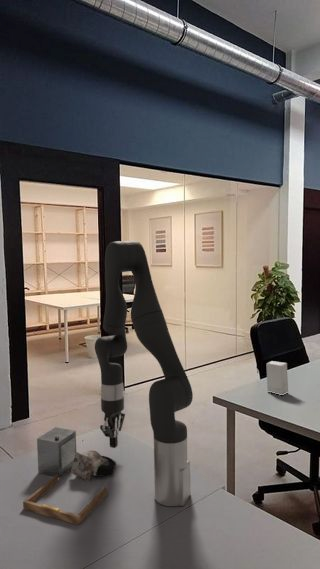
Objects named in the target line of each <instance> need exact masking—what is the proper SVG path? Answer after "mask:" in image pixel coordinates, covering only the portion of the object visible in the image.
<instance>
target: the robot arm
mask: <svg viewBox="0 0 320 569" xmlns="http://www.w3.org/2000/svg"><path fill="white" fill-rule="evenodd" d="M104 255H105V256H104V280H105V281H104V283H105V309H104V314H103V324H102V328H103V330H104V332H106V333H108V334H111V335H107V336H100V337H98V338H97V339H96V340H95V343H94V351H95V355H96V358H97V361H98V365H99V369H100V381H101V382H100V405H101V406H100V409H101V411H102V412H103V413H104V418H103V421H104V423H103V425H102V424H100V426H99V429H100V431H102V433H103V435H104V436H105V437H107V438H109V447H110V448H112V449H116V448H117V447H118V444H119V443H118V442H119V441H118V438H119V437H118V436H119V433H120V432H121V431H122V428H123V424H124V422H125V417H126V414H125V413H123V412H122V411H124V409H125V396H124V395H125V393H124V392H125V390H124V389H125V388H124V382H123V379H124V378H123V376H124V375H123V367H122V365H121V364H120V363H117V362H110V361H109V358H110V359H111V358H118V357H121V356H124V355H125V354H126V352H127V350H128V342H127V341H128V340H127V336H126V322H127V317H128V305H127V301H126V298H125V297H124V294H123V292H122V290H121V287H120V277H121V273H125V272H131V274H132V277H133V280H134V287H135V291H134V295H133V299H132V302H131V308H130V320H131V323H132V326H133V329H134V333H135V335H136V338H137V339H138V341H139V342H140V344H141V345H142V346H143V347H144V348H145V349H146V350H147V351H148V352H149V353H150V354H151V355H152V356H153V357H154V358H155V359H156V361H157V362H158V365H159V366H160V368H161V371H162V373H163V376H164V378H163V379H159V380H156V381H154V382H153V383H151V385H150V388H149V390H148V392H149V393H148V405H149V416H150V425H151V429H152V433H153V466H154V467H153V473H154V474H153V475H154V482H153V483H154V498H155V500H156V502H157V503H158V504H160V505H162V506H165V507H178V506H180V507H184V506H185V504H186V502H187V501H188V499H189V497H190V495H191V461H190V460H188V428H187V425H186V424H185V423H184V422H182V421H179V420H177V419H176V415H175V413H176V412H177V413H178V412H179V411H182V410H183V409H186V408H188V407H189V406H191V404H192V401H193V397H194V396H193V393H194V392H193V388H192V386H191V383H190V380H189V378H188V375H187V373H186V371H185V368H184V367H183V365H182V362H181V360H180V357H179V355H178V353H177V350H176V347H175V345H174V342H173V340H172V337H171V334H170V332H169V328H168V324H167V320H166V319H165V316H164V313H163V309H162V307H161V305H160V302H159V299H158V296H157V292H156V289H155V286H154V284H153V279H152V274H151V271H150V266H149V263H148V258H147V255H146V251H145V249H144V246H143V245H142V244H141V242H140V241H137V240H121V241H120V240H117V241H111V242H110V243H109V244H108V245H107V246H106V249H105V254H104Z"/></svg>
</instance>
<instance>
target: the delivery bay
mask: <svg viewBox="0 0 320 569" xmlns="http://www.w3.org/2000/svg"><path fill="white" fill-rule="evenodd" d="M58 483H59V478H58V476H54V477H52V478H50V479H49V480H48V481H47V482H46V483H44V484H43V485H42V486H41V487H39V488H38V489H37V490H36V491H35V492H33V493H32V494H31V495H30V496H29V495H28V497H27V498H26V499H24V500H23V501H22V508H23V510H26V511H29V512H33V513H36V514H40V515H43V516H46V517H51V518H53V519H57V520H60V521H64V522H66V523H67V522H68V523H70V524H74V525H77V526H80V525H81V523H82V522H83V521H84V520H85V519H86V518H87V517H88V516H89V515H90V514H91V512H93V510H95V509H96V507H97V506H99V504H100V503H101V502H103V501H102V500H104V499H105V498H106V496H107V495H108V487H107V486H104V487H103V488H102V489H101V490H100V491H99V492H98V493H97V494H96V495H95V496H94V497H93V498H92V499H91V501H89V502H88V503H87V505H86V506H85V507H83V509H82V510H81V511H80V512H79V513H78V514H77V513H74V512H69V511H66V510H62V509H60V507H55V506H52V505H50V504H42V503H37V501H38V500H39V499H41V497H43V496H44V495H46V493H47V492H49V490H51V489H52V488H54V486H56V485H57V484H58Z"/></svg>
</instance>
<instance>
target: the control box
mask: <svg viewBox="0 0 320 569" xmlns="http://www.w3.org/2000/svg"><path fill="white" fill-rule="evenodd" d="M36 446H37V472H38V474H40V475H45V476H49V477H52V478H53V477H54V476H58V479H61V478H62V477H63V476H64V475H65V474H66V473H68V472H69V471H71V470H72V466H73V462H74V457H75V453H76V452H77V432H76V430H73V429H67V428H63V427H58V426H55V427H53V428H52V429H50V430H49V431H47V432H45V433H44V434H41V436H39V437H38V438H36Z"/></svg>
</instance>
